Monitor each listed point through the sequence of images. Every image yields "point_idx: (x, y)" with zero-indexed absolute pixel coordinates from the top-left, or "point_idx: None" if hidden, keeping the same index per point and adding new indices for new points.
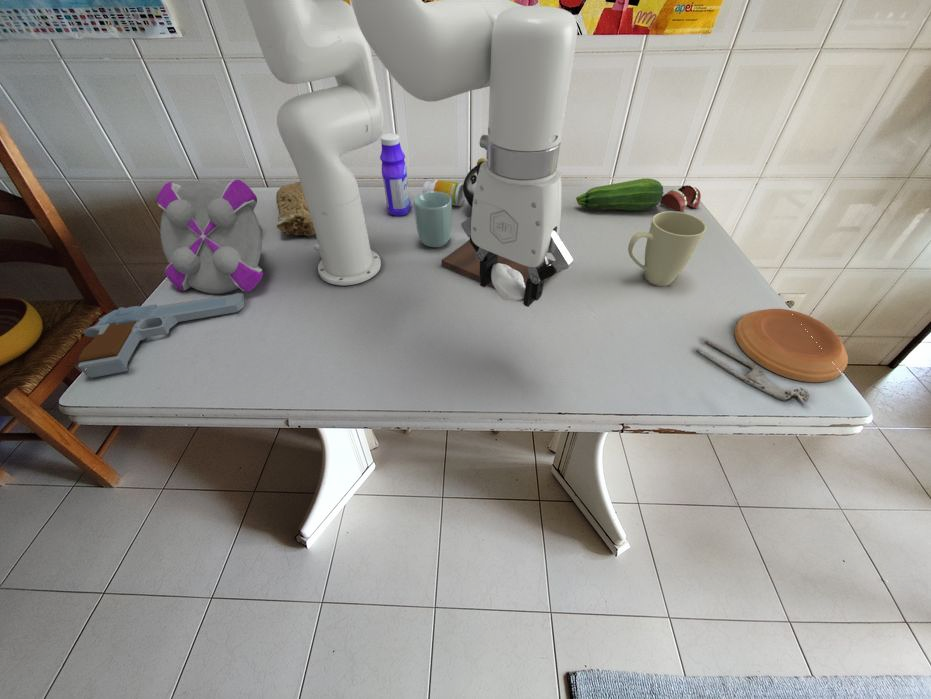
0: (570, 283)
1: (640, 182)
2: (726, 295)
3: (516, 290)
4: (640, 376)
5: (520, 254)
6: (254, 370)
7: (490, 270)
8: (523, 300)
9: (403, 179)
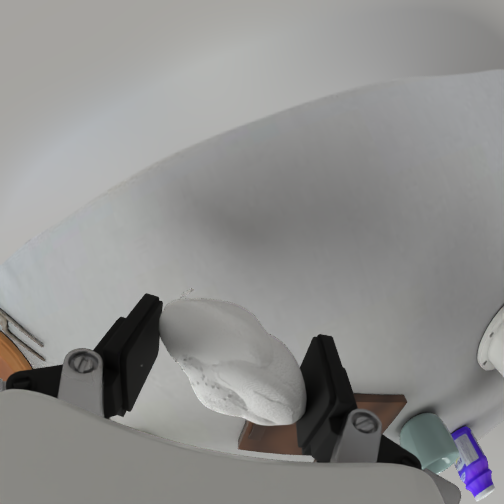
0: (211, 424)
1: None
2: None
3: (180, 331)
4: (65, 290)
5: (59, 463)
6: None
7: (310, 391)
8: None
9: (464, 466)
